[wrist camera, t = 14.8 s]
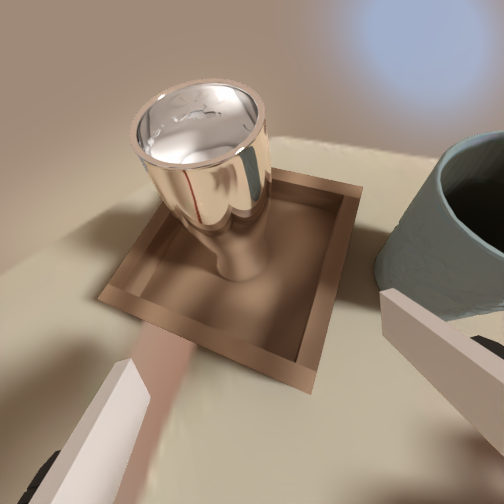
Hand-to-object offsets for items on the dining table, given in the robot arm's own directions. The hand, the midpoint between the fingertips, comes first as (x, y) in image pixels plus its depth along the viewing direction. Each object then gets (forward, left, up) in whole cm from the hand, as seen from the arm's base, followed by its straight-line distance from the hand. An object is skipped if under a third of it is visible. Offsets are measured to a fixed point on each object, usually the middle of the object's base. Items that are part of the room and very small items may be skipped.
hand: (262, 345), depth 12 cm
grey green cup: (+11, +12, -10) cm, 19 cm away
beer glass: (-6, +8, -9) cm, 13 cm away
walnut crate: (-6, +8, -10) cm, 14 cm away
